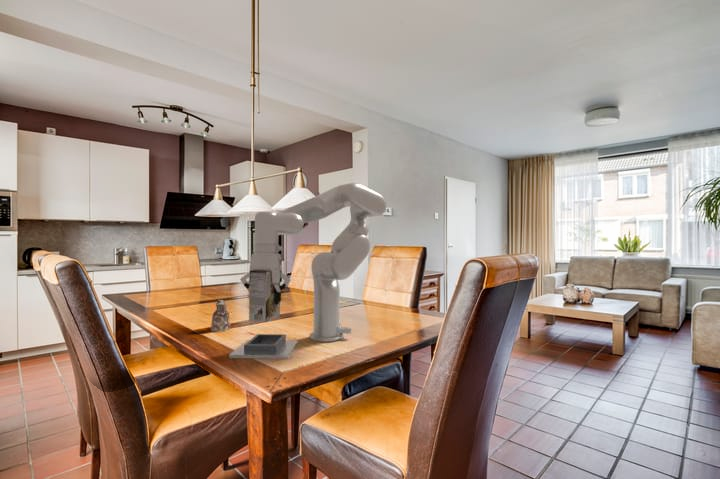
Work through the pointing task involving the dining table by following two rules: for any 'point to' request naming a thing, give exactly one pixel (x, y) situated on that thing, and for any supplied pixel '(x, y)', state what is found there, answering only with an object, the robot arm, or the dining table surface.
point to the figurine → (220, 318)
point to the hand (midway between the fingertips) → (265, 303)
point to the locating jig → (265, 347)
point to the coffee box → (262, 297)
